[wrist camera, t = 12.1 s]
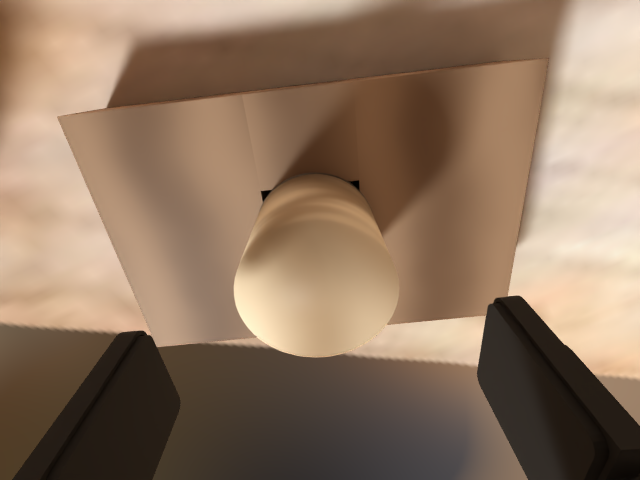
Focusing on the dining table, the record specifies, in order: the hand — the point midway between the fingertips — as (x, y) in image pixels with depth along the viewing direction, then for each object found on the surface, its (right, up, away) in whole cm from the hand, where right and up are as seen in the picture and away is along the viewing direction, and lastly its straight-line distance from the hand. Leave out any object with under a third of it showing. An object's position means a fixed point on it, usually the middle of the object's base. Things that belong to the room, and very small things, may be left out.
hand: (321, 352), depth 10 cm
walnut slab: (0, +6, +12) cm, 13 cm away
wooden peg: (0, +5, +12) cm, 13 cm away
